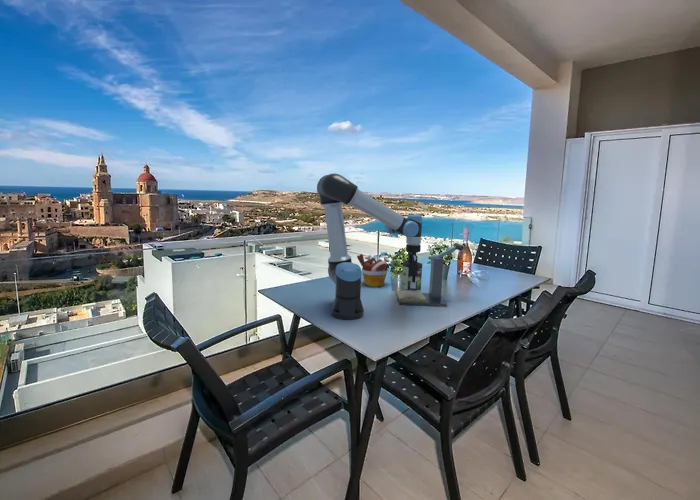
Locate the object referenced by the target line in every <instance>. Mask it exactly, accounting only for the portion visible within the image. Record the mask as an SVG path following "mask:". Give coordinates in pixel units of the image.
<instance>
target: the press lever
mask: <svg viewBox="0 0 700 500" xmlns="http://www.w3.org/2000/svg"><path fill="white" fill-rule="evenodd" d="M456 250H457V251H460V252H461V251H463V250H464V246H463V245H462V244H460V243H458V242H454V243H453V246H452V247H450V248H448V249H447V250H445V251H442V252H441V253H438V254H432V255H431V256H430V259H431V258H432V257H442V258H443V257H445V256H447V255H449V254H451V253H453V252H455V251H456Z"/></svg>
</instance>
